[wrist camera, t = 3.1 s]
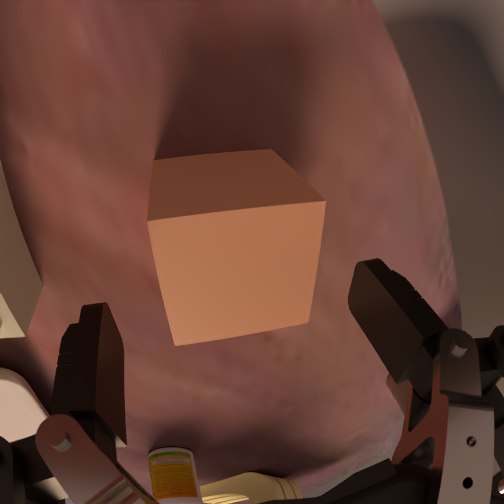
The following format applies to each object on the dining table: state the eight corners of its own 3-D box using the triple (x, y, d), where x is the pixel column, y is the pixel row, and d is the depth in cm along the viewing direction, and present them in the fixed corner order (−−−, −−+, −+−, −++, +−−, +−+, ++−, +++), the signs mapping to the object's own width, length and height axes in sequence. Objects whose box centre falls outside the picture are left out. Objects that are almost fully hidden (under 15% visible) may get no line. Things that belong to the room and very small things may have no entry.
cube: (271, 148, 15) (326, 200, 10) (268, 245, 18) (308, 322, 13) (153, 159, 14) (146, 221, 9) (168, 259, 17) (175, 345, 12)
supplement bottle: (139, 450, 29) (148, 527, 21) (181, 442, 30) (196, 522, 22) (160, 463, 32) (171, 531, 25) (199, 455, 33) (214, 525, 25)
